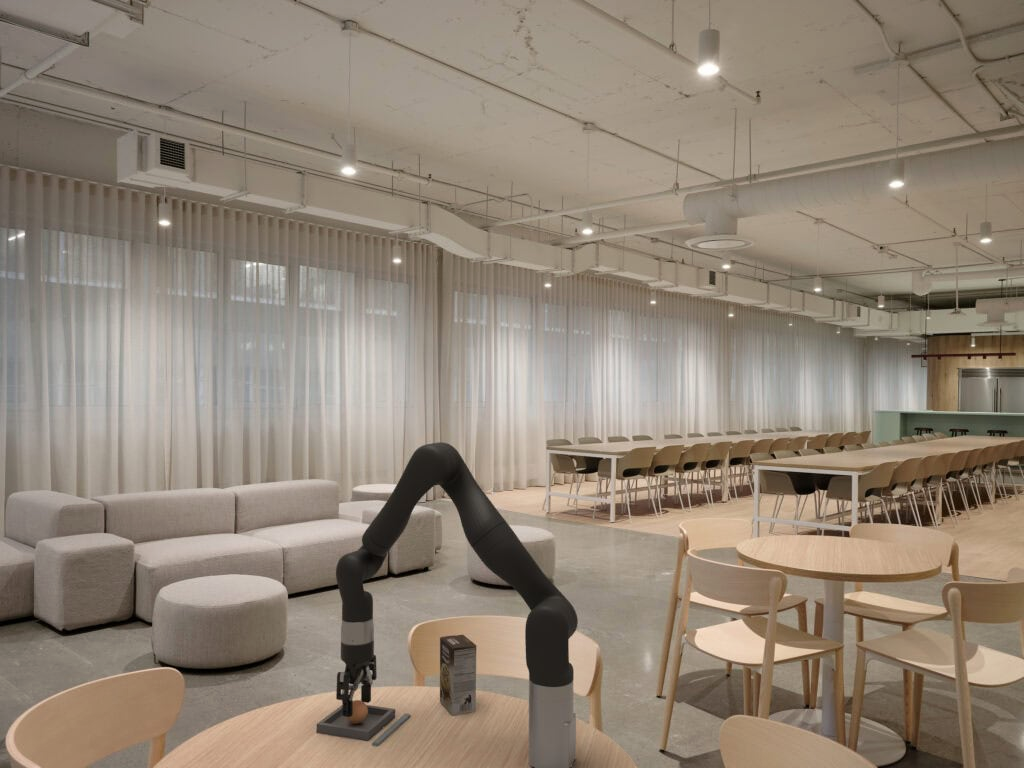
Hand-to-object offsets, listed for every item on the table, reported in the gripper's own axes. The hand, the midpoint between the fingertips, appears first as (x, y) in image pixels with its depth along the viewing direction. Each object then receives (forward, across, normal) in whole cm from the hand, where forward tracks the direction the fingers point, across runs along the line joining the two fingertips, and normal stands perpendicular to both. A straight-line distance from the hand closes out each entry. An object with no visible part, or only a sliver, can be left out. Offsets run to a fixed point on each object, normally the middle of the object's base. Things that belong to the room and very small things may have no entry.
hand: (357, 708), depth 177 cm
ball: (+1, 0, 0) cm, 1 cm away
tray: (+4, 0, 0) cm, 4 cm away
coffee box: (+4, +17, -18) cm, 25 cm away
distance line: (+4, 0, -9) cm, 10 cm away
